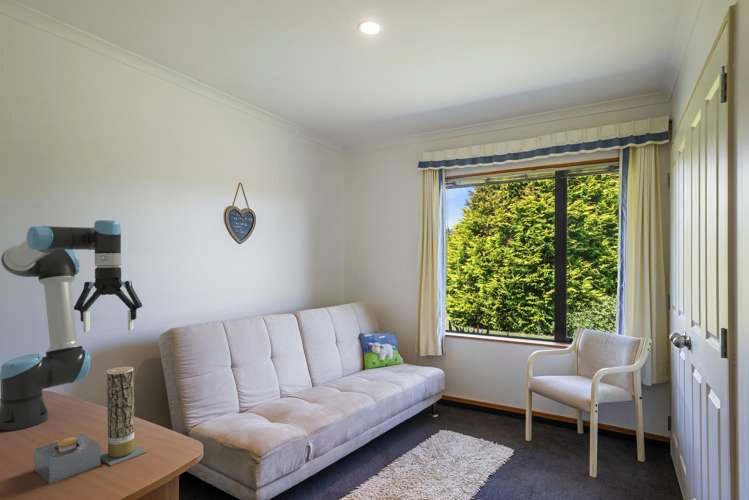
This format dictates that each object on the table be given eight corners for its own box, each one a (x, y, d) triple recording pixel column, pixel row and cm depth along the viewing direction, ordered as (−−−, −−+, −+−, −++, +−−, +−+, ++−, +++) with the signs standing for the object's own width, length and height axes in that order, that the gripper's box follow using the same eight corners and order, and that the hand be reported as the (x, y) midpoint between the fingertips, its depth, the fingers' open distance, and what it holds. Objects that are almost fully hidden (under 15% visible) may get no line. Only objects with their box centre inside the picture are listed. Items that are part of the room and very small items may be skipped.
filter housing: (34, 470, 120) (34, 449, 120) (83, 454, 130) (83, 434, 130) (49, 484, 113) (49, 461, 113) (100, 465, 122) (100, 444, 122)
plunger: (55, 465, 121) (54, 441, 121) (74, 459, 124) (73, 435, 124) (61, 470, 118) (60, 445, 118) (80, 463, 122) (80, 439, 122)
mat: (96, 456, 128) (96, 455, 128) (131, 444, 136) (131, 443, 136) (110, 466, 122) (110, 464, 122) (146, 452, 130) (146, 451, 130)
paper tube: (135, 454, 128) (134, 370, 128) (108, 460, 124) (107, 373, 124) (133, 446, 133) (132, 365, 134) (107, 452, 130) (106, 368, 130)
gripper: (60, 267, 138) (61, 334, 138) (143, 266, 142) (144, 330, 142) (73, 267, 146) (74, 329, 146) (152, 265, 149) (152, 327, 149)
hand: (109, 330), depth 144 cm, fingers open, 13 cm apart
